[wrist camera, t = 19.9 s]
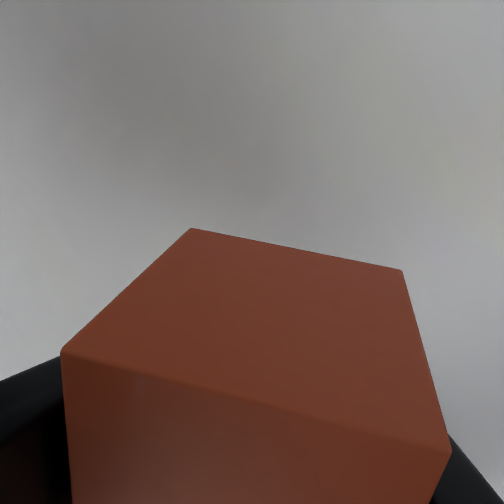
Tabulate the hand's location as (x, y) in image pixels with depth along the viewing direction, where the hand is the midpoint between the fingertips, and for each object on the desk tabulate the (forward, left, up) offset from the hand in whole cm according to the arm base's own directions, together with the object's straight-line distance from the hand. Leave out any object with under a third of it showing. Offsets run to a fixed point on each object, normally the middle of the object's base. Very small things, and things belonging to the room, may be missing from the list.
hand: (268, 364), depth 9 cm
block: (0, 0, -1) cm, 1 cm away
